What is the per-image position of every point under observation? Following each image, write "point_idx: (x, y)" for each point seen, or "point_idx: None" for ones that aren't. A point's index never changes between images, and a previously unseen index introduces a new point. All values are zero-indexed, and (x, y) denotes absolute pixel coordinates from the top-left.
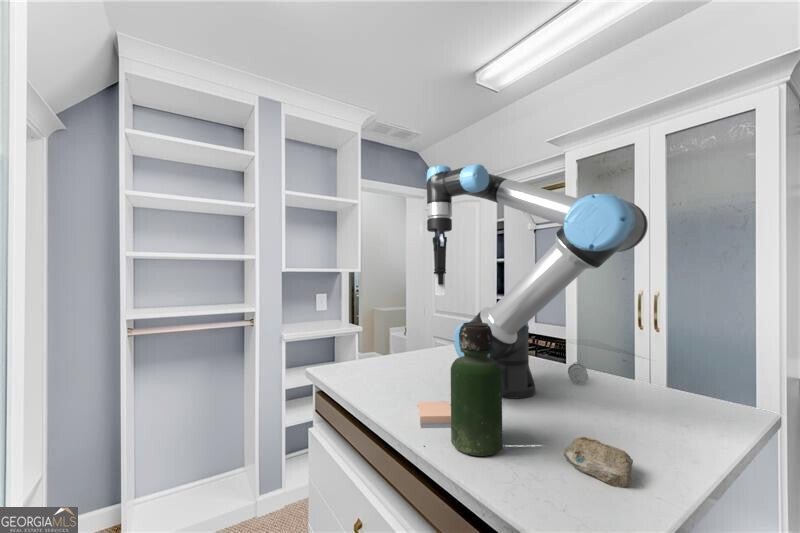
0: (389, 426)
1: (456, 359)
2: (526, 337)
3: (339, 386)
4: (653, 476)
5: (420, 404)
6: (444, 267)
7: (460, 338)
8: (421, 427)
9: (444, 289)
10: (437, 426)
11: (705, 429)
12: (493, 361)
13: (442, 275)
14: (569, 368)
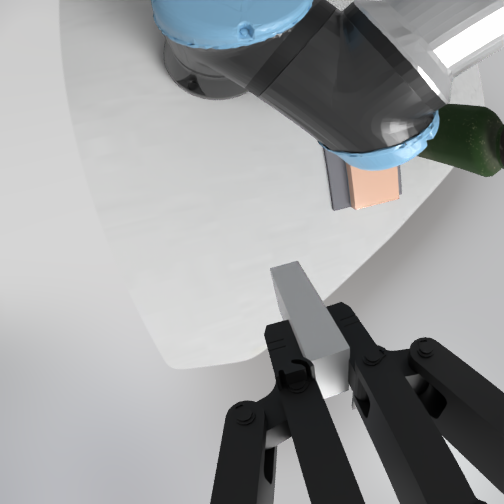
0: (392, 231)
1: (493, 171)
2: None
3: (263, 341)
4: None
5: (364, 204)
6: (451, 358)
7: None
8: (400, 193)
9: (309, 280)
10: (398, 174)
11: None
12: (500, 122)
13: (373, 344)
14: None
